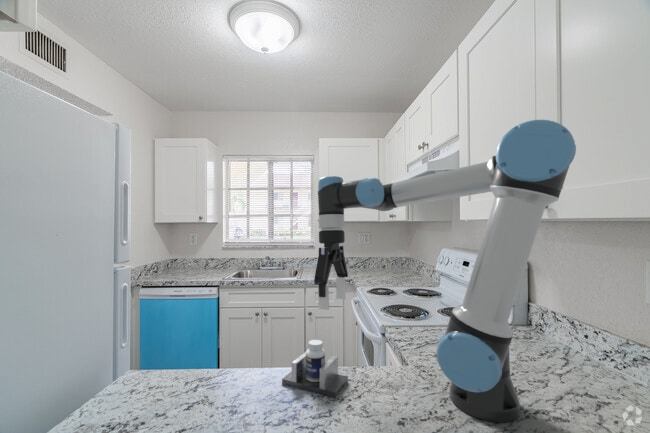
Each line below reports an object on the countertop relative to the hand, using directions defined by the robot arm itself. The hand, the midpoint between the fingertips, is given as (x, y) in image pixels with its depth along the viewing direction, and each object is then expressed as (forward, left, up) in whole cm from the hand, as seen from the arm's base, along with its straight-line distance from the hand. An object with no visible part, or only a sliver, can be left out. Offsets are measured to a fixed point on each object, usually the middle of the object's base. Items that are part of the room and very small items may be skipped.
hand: (333, 303), depth 84 cm
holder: (+4, +3, -22) cm, 22 cm away
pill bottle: (+4, +3, -20) cm, 21 cm away
